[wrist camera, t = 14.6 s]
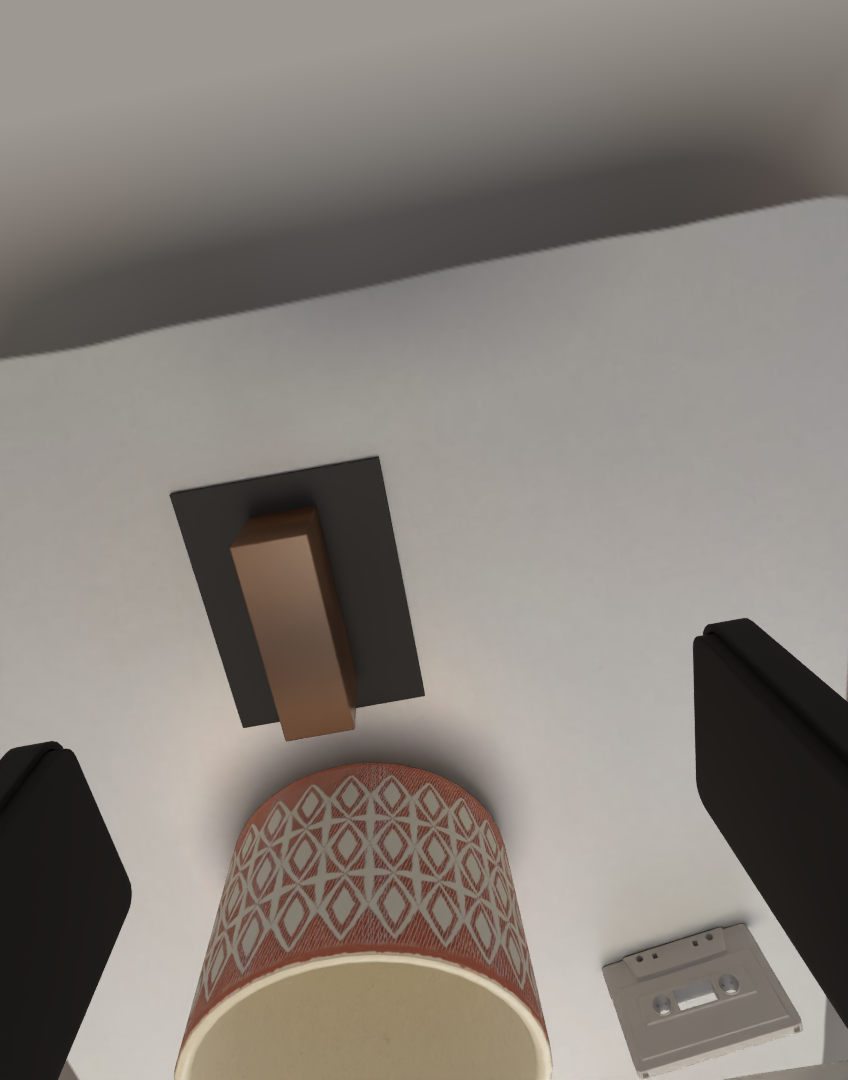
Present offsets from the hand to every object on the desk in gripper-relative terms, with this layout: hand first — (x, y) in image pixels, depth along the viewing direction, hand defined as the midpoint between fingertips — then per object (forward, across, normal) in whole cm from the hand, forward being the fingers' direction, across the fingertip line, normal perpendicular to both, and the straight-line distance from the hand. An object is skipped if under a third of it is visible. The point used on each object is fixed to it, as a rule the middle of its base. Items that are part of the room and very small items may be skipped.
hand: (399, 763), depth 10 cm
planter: (+28, +7, +30) cm, 42 cm away
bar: (+28, +7, +10) cm, 30 cm away
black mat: (+28, +7, +10) cm, 31 cm away
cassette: (+28, -15, +45) cm, 55 cm away
